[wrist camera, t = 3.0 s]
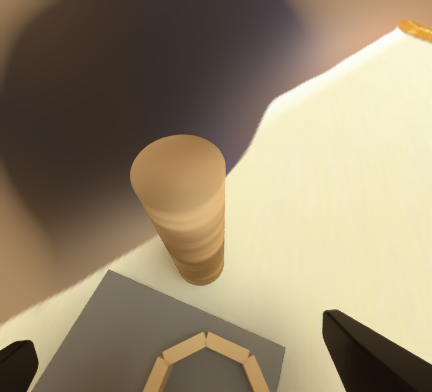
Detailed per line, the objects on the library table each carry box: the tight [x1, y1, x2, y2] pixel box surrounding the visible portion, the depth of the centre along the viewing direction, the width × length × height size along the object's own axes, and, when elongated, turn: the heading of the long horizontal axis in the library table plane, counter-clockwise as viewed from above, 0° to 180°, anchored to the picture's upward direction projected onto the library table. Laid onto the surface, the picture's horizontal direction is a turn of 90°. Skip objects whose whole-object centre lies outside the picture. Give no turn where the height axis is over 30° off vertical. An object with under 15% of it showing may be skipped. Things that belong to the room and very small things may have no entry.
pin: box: [130, 135, 225, 286], centre depth 15 cm, size 4×4×13 cm
